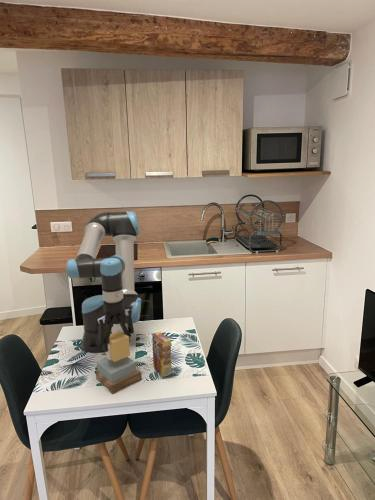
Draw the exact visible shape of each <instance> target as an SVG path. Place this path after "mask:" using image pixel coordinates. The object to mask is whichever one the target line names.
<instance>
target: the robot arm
mask: <svg viewBox="0 0 375 500" xmlns="http://www.w3.org/2000/svg"><path fill="white" fill-rule="evenodd" d="M83 231H84V236H83V238H82V242H81V244H80V246H79V247H80V248H79V249H78V252H77V255H76V258H73V259H69V260H67V262H66V265H65V266H66V267H65V269H66V270H65V271H66V274H67V276H68V278H69V279H78V280H79V279H91V278H92V279H93V278H94V279H95V278H101V289H102V294H98V295H94V296H90V297H88V298H86V299H85V300H83V302H82V303H81V314H82V321H83V336H82V339H81V349H82V350H83V351H85V352H87V353H101V352H106V354H105V356H106V358H108V359H109V360H111V349H110V343H108V341H109V337H110V334H111V333H113V331H112V329H113V327H114V325H120V327H121V329H122V332H123V333H124V334H126V335H127V336H129V344H130V343H131V337H132V334H134V333H135V330H134V325H133V324H136V323H139V321H140V315H141V309H142V305H141V304H142V298H140V297H138V296H139V295H138V293H137V292H136V291H135V256H134V254H135V251H134V244H135V243H134V242H135V241H136V240H137V236H139V235H140V227H139V221H138V217H137V213H136V212H135V211H127V210H125V211H104V212H101V213H99V214H96V215H94V216H93V217H92V218H91V219H90V220H89V221H88V222H87V223H86V225H85V227H84V230H83ZM111 236H112V240H113V241H114V243H115V254H114V255H112V256H110V257H103V258H101V257H100V258H99V257H98V258H97V255H98V251H99V248H100V244H101V241H102V240H103V238H104V237H111Z"/></svg>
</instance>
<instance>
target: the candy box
mask: <svg viewBox="0 0 375 500" xmlns="http://www.w3.org/2000/svg"><path fill="white" fill-rule="evenodd" d="M151 335H152V338H151V339H152V342H151V343H152V364H153V369H154V370H155V371H156V372H157V373H158V374H159V375H160V376H161V377H162V378H166V377H168V376H171V375H172V347H171V345H172V341H171V339H170V338H169V337H167V336H166V335H165V334H164V333H162V332H161V331H159V332H155V333H152V334H151Z"/></svg>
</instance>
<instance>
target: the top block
mask: <svg viewBox="0 0 375 500" xmlns="http://www.w3.org/2000/svg"><path fill="white" fill-rule="evenodd" d="M96 369H97V370H98V372H99V373H100V374H101V375H103V376H104V377H105V378H106V379H107V380H109V381H110V382H111V383H114V382H116V381H118V380H120V379H122V378H124V377H126V376H128V375H130V374H132V373H135V372H136V369H137V362H136V361H135V360H133V359H132V358H130V356H128V357H125V358H123V359H120V360H118V361H115V362H114V361H112V360H109V359H108V358H107V357H106V358H104V359H101V360H99V361H96ZM97 370H96V371H97Z"/></svg>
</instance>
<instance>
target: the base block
mask: <svg viewBox="0 0 375 500" xmlns="http://www.w3.org/2000/svg"><path fill="white" fill-rule="evenodd" d="M95 378H96V380H97V381H98V382H99V384H101V385H102V386H103V387H104V388H105V387H106V388H107V389H108V392H109V393H111V394H112V395H113V394H116V393H118V392H121V391H122V390H124V389H127V388H128V387H130V385H131V386H133V385H135V384H136V383H139V382H140V381H142V379H143V378H142V371H141V370H139V369H138V368H136V372H135V373H132V374H130V375H128V376H126V377H124V378H122V379H120V380H118V381H116V382H114V383H111V382H110V381H109V380H107V379H106V378H105V377H104V376H103V375H101V374H100V373H99V372H98V370H95ZM106 388H105V389H106ZM107 389H106V390H107Z"/></svg>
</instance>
